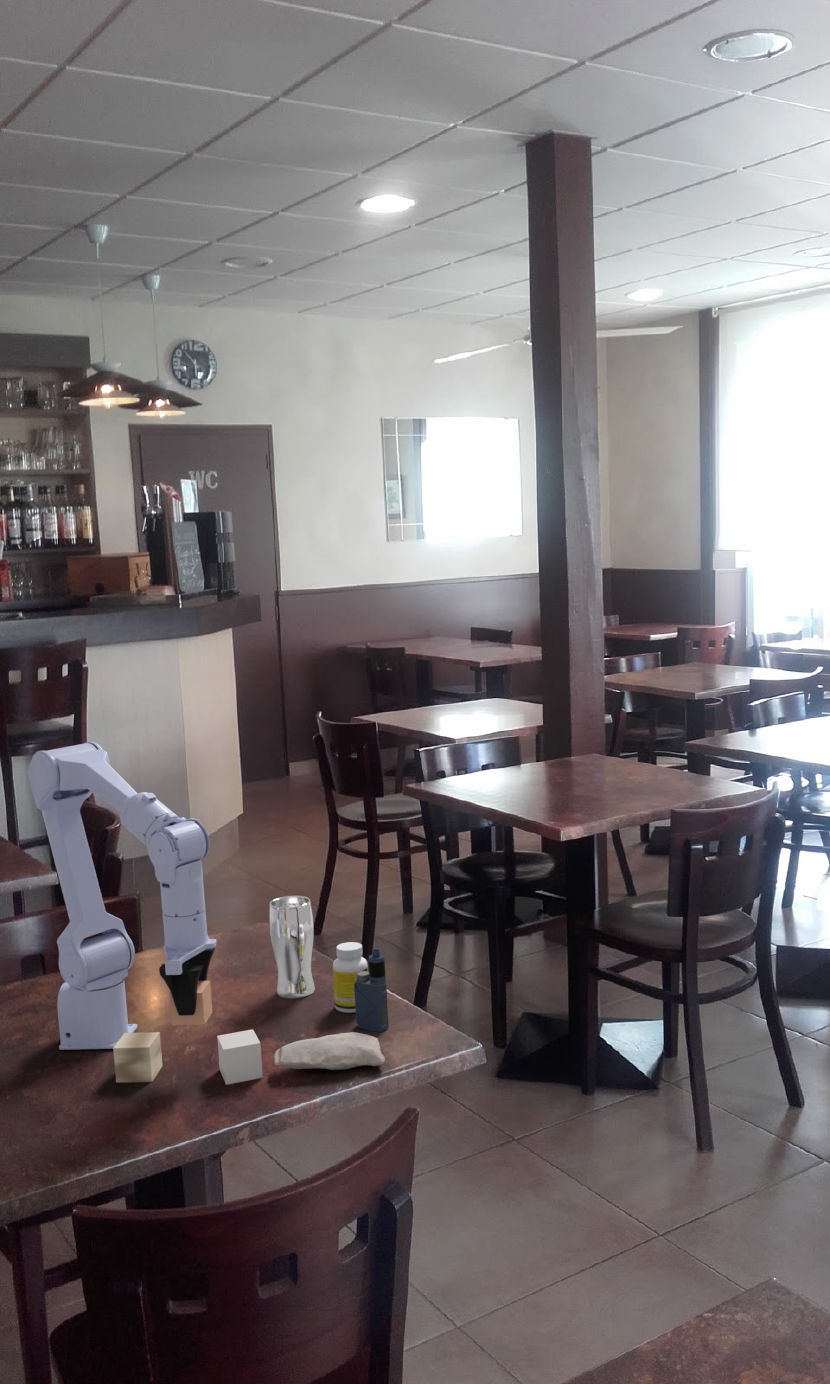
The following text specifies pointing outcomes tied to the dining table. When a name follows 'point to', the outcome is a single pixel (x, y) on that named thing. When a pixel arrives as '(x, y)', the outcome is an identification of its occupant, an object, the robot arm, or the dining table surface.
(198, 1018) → the terracotta cube
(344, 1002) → the supplement bottle
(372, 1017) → the vaping device
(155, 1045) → the birch cube
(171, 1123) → the dining table surface
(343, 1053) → the decorative stone
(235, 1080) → the white cube
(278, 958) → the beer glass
